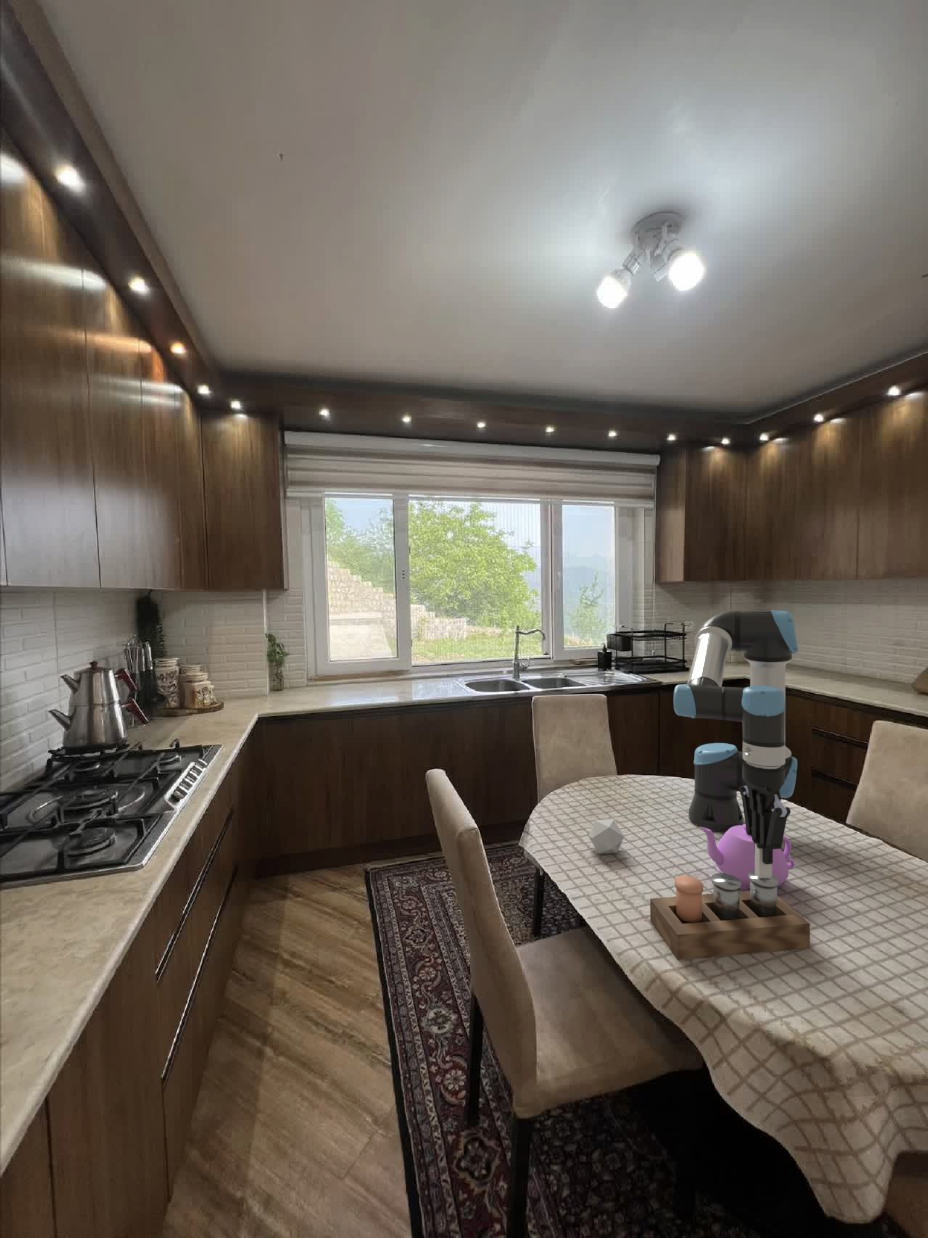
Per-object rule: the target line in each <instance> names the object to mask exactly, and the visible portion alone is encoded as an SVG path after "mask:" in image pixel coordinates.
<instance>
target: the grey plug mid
mask: <svg viewBox="0 0 928 1238" xmlns="http://www.w3.org/2000/svg"><path fill="white" fill-rule="evenodd" d="M711 884H712V886H713V887H712V888H713V891H712V894H713V909H714V912H715V914H717V915H718V916H720V917H722V918H725V919H729V920H734V919H738V918H739V916H740V889H741V881H740V880H739V879H738V878H737V877H735V876H732V875H730V874H725V873H722V872H720V873H719V872H718V873H714V874H712V876H711Z"/></svg>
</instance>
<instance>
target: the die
mask: <svg viewBox="0 0 928 1238" xmlns="http://www.w3.org/2000/svg"><path fill="white" fill-rule="evenodd" d="M592 823H593V824H592V826H591V829H590V831H589V834H588V838H589V840H590V841H591V843H592V845H593V847H594V849H595V850H596V853H597V854H598V855H599V854H601V855H602V854H618V853H619V850H620V848H621V845H622V843H623V841H624V838H625V835H624V834H623V832H622V830H621V829H620V828H619V826H618V824H617V823H616V821H615V819H595V820H594V821H593V822H592Z"/></svg>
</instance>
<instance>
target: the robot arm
mask: <svg viewBox="0 0 928 1238" xmlns="http://www.w3.org/2000/svg"><path fill="white" fill-rule="evenodd" d="M693 643H694V647H695V653H694V655H693V659H692V660H693V661H692V664H691V668H690V671H689V676H688V679H687V683H684V684H683V683H682V684H677V685H676V686H675V687H674V690H673V710H674V713H675V714H676V715H677V716H679V717H680V716H681V717H685V718H687V717H688V718H691V719H704V720H706V719H707V720H717V721H718V720H719V721H727V722H728V721H729V722H741V723H742V751H739V750H738V748H737V746H736V745H735V744H731V743H730V744H729V743H726V742H725V743H724V742H713V743H705V744H702V745H700V746H697V748H695V750H694V758H693V759H694V760H693V765H694V767H693V768H694V794H693V796H692V800H691V802H690V805H689V809H688V819H689V821H690V822H691V823H692V824H694V825H696V826H698V827H699V828H700V827H704V828H707V829H710V830H711V831H713V832H721V833H722V832H724V833H726V832H727V831H728V830H729V829H730V828H731V827H733V826H739V825H743V824H746V831H747V834H748V835H751V836H752V841H753V842H754V855H755V875H756V876H757V877H758V878H772V863H773V849H781V850H782V845H783V841H784V840H783V836H785V830H786V825H787V821H788V818H789V816H790V814H791V808H790V807H788V806H784V805H783V802H782V799H789V798H790V797H792V796H793V794H794V790H795V787H796V780H797V772H798V771H797V770H798V759H797V758H796V757H794V756H792V751H791V750H790V749H789V747H787V746H786V707H787V705H786V665H787V664H789V663H790V662H791V661H792V659H793V656H792V655H795V654H798V653H799V648H798V641H797V634H796V627H795V622H794V617H793V614H792V613H791V612H789V611H786V610H774V609H770V610H769V609H766V610H763V609H761V610H760V609H759V610H729V611H723V612H720V613H718V614H716V615H713V616H712V617H710V618H708V619H707V620H706V621H705V622H703V623H702V624H701V625H700V627H699V628H698V629H697V631H696V633H695V636H694V642H693ZM730 652H736V653H737V652H740V653H741V652H742V653H743V658H744V660H746V662H748V663H749V666H750V667H749V669H750V670H749V673H750V674H749V675H750V676H749V677H750V678H749V680H750V681H749V682H750V684H749V685H750V686H747V687H734V686H733V687H732V686H731V687H730V686H722V685H723V681H724V673H725V666H726V660H727V654H729V653H730ZM738 793H739V794H740V797H741V802H742V803H741V804H742V808H743V810H741V807H740V804H739V801H738ZM742 811H743V813H742ZM744 822H745V823H744ZM751 828H752V829H751Z"/></svg>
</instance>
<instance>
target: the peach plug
mask: <svg viewBox="0 0 928 1238" xmlns="http://www.w3.org/2000/svg"><path fill="white" fill-rule="evenodd" d="M674 887H675V888H676V889H675V890H676V891H675V897H676V914H677V916H678V917H679V918H680V919H682V920H683V921H686V922H690V923H697V922H700V921H701V920H702V894H703V892H704V883H703V882H702V881H701V880H700V879H698V878H696V877H694V876H689V875H680V876H679V875H678V876H677V877H675V878H674Z"/></svg>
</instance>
